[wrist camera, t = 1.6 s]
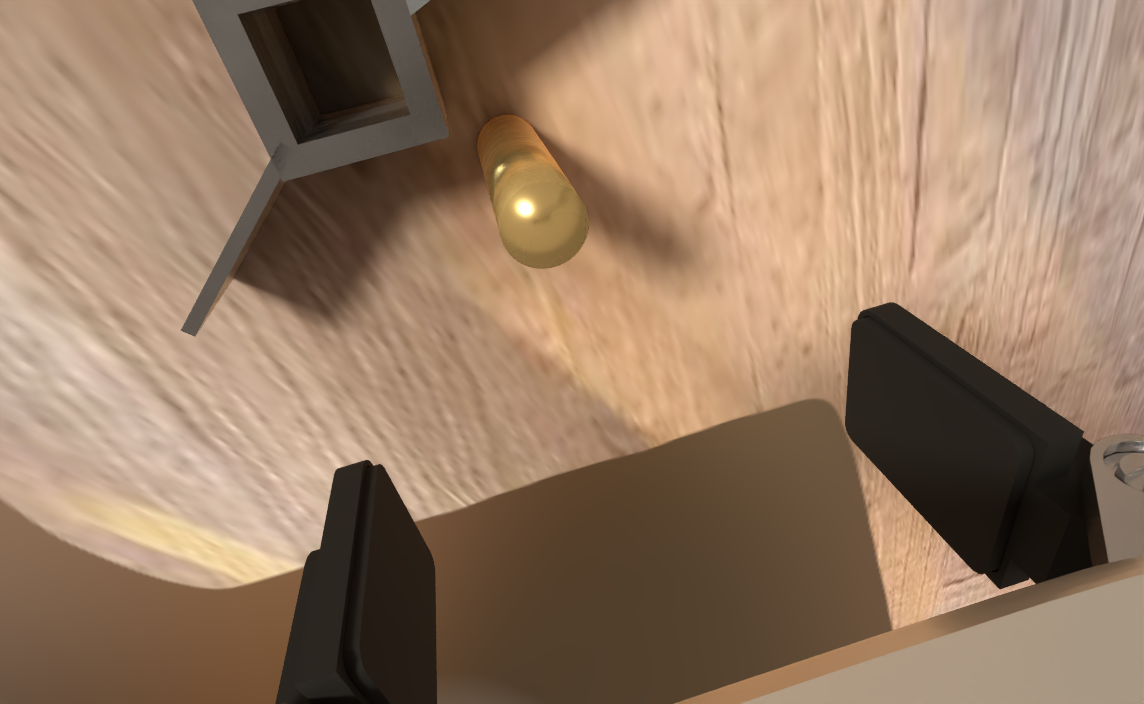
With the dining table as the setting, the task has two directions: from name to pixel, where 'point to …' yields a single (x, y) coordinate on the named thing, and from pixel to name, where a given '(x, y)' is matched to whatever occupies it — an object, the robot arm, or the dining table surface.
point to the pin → (530, 195)
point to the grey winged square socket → (311, 112)
